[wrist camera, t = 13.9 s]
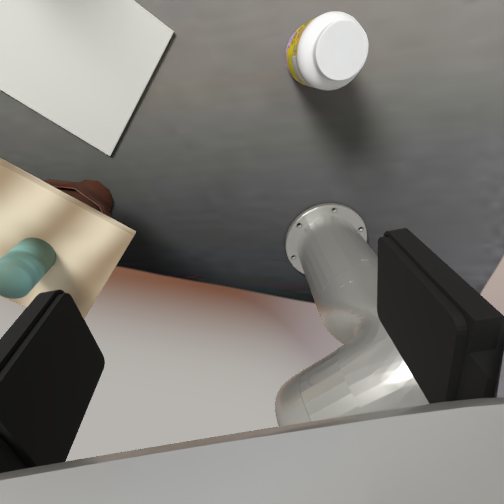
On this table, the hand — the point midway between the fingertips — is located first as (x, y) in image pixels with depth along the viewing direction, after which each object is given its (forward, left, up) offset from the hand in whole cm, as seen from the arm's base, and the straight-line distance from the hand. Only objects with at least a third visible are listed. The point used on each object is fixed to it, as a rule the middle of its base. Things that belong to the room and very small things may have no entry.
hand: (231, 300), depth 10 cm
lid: (+10, +19, -23) cm, 32 cm away
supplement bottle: (-4, -12, -38) cm, 41 cm away
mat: (+19, +4, -38) cm, 43 cm away
